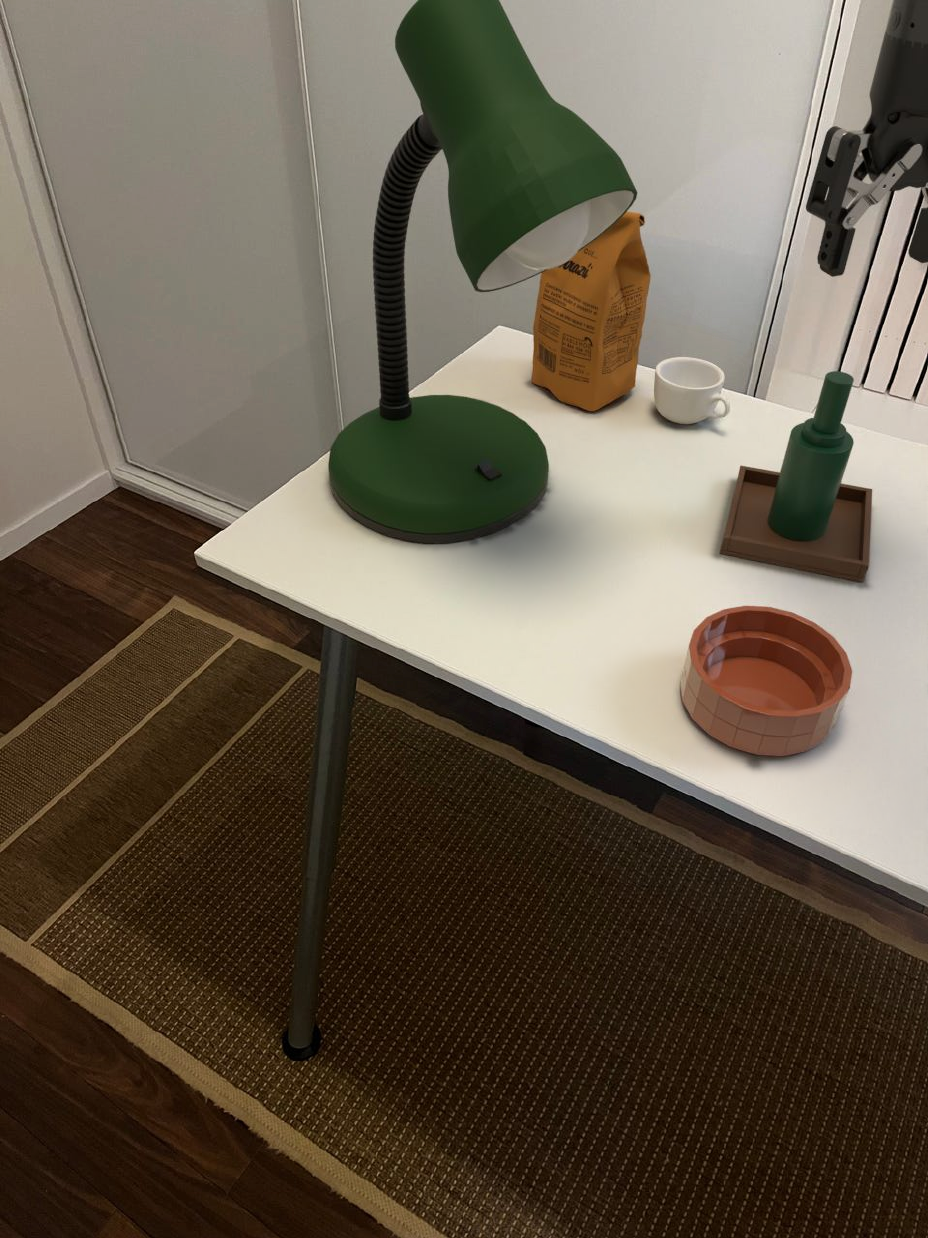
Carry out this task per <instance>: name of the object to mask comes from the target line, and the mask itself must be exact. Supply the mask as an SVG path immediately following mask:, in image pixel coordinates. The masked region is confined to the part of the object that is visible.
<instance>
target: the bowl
mask: <svg viewBox="0 0 928 1238" xmlns="http://www.w3.org/2000/svg"><path fill="white" fill-rule="evenodd" d="M686 652H687V653H686V657H685V661H684V665H683V670H682V675H681V679H680V682H679V683H680V685H679V687H680V693H681V701H682V704H683V705H684V707H685V709H686V710H687V712H688V714H689V715H690V717H691V719H692V720H693V721H694V722H695V723H696V724H697V725H698V726H699V727H700V728H701V729H702V730H704V732H705V733H707V734H708V735H709V736H710V737H712V738H714V739H715V740H717V741H719V742H721V743H723V744H725V745H726V746H728V747H731V748H733V749H736V750H739V751H743V752H745V753H750V754H753V755H758V756H772V757H773V756H774V757H785V756H790V755H794V754H800V753H804V752H805V753H806V752H808V751H809V750H812V749H813V748H815V747H817V746H818V745H820V744H822V743H824V741H826V739H827V738H828V736H829V735H830V734H831V732H832V731H833V729H834V728H835V726H836V725H837V724H836V723H837V721H838V718H839V716H840V714H841V711H842V709H843V706H844V703H845V701H846V698H847V697H848V694H849V691H850V688H851V684H852V676H853V669H852V666H851V662H850V659H849V657H848V654H847V652H846V651H845V649H844V648H843V647H842V645H841V644H840V643H839V641H838V640H837V639H836V637H835V636H833V635H832V634H831V633H830V632H828V631H826V630H825V629H824V628H823V627H821V626H820V625H819V624H817V623H816V622H814V621H812V620H810V619H809V618H805V617H803V616H802V615H800V614H797V613H795V612H792V611H788V610H784V609H780V608H776V607H771V606H763V605H762V606H760V605H741V606H735V607H729V608H723V609H721V610H719V611H717V612H715V613H713V614H711V615H708V616H706V617H705V618H704V619H703V620H702V621H701V622H700V623H699V624H698V625H697V626H696V627H695V628H694V630H693V632H692V634H691V638H690V640H689V643H688V647H687V651H686Z"/></svg>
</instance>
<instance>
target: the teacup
mask: <svg viewBox="0 0 928 1238" xmlns="http://www.w3.org/2000/svg"><path fill="white" fill-rule="evenodd" d="M725 377H726V376H725V372H724V371H723V370H722V368H720V367H719V366H717V365H716V364H714V363H712V362H711V361H708V360H705V359H701V358H697V357H696V358H695V357H690V356H675V357H670V358H666V359H663V360H662V361H660V362H659V363H657V365H656V366H655V371H654V383H653V385H654V386H653V399H654V400H653V401H654V405H655V408H656V409H657V412H658V413H660V415H661V416H663V417H664V418H665V419H666V420H667V421H669V422H672V423H675V424H678V425H679V424H680V425H693V424H696V423H700V422H702V421H704V420H706V419H707V418H711V419H721V418H725V417H726V416H728V414H729V413H730V410H731V404H730V401H729V399H728V398H727V397H726V396H725V395H723V394H722V391H723V386H724V383H725ZM719 401H721V402H722V403H723V404H724V412H723V413H717V412H715V409H716V408H717V406H718V404H719Z"/></svg>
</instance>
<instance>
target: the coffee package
mask: <svg viewBox="0 0 928 1238" xmlns="http://www.w3.org/2000/svg"><path fill="white" fill-rule="evenodd" d="M645 223H646V220H645V215H643V214H642V213H640V212H633V211H627V212H626V213H625V214H624V215H623V216H622V217H621V218H620V219H619V220H618V221H617V222H616V223H615V224H614V225H612V226H611V227H610V228H609V229H608V230H607V231H605V232H604V233H603V234H602V235H600V236H599V237H598V238H597V239H595V240H594V241H593V242H591V243H590V244H589V245H587V246H586V247H584V248H583V249H581V250H580V251H579V252H577V253H576V254H575V256H574V257H573V258H572V259H571V260H569V261H567V262H566V263H564V264H562V265H561V266H559V267H557V268H554V269H548V270H546V271H544V272H542V273H540V279H539V288H538V294H537V299H536V308H535V314H534V320H533V326H532V332H533V335H532V336H533V337H532V338H533V351H532V371H531V372H532V374H531V383H532V384H534V385H537V386H539V387H542V388H545V389H547V390H549V391H550V392H551V394H553V396H554V397H555V398H556V399H557V400H558V401H560V402H562V403H564V404H567V405H570V406H575V407H578V408H581V409H583V410H585V411H587V412H594V411H598V410H600V409H601V408H602V407H604V406H606V405H608V404H610V403H612V402H613V401H616V400H617V399H618V398H620V397H622V396H625V395H627V394H629V393H630V392H631V391H632V390H633V389H634V388H635V387H636V378H637V370H638V365H639V353H640V352H639V350H640V345H641V340H642V337H643V326H644V323H645V317H646V310H647V300H648V296H649V290H650V284H651V278H652V277H651V271H650V266H649V264H648V259H647V256H646V255H647V254H646V250H645V247H644V245H643V240H642V236H641V227H644V226H645Z"/></svg>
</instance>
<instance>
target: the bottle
mask: <svg viewBox="0 0 928 1238" xmlns="http://www.w3.org/2000/svg"><path fill="white" fill-rule="evenodd" d="M854 380H855V379H854V376H852V375H851V374H849V373H848V372H844V371H837V370H833V371H829V372H827V373H826V374H825V376H824V379H823V382H822V387H821V390H820V394H819V397H818V401H817V404H816V408H815V411H814V414H813V417H810V418H807V419H806V420H804V422H802V423H798V424H796V425H794V426H793V428H792V429H791V430H790V433H789V437H788V442H787V445H786V449H785V453H784V456H783V459H782V464H781V468H780V471H779V472H780V474H779V478H778V482H777V486H776V489H775V493H774V497H773V501H772V504H771V508H770V512H769V515H768V524H769V526H770V528H771V529H772V530H773V531H774V532H775V533H777V534H778V535H780V536H782V537H784V538H787V539H790V540H795V541H812V540H816V539H818V538H820V537H821V536H823V534H824V533H825V531H826V528H827V525H828V522H829V518H830V515H831V512H832V509H833V506H834V503H835V500H836V497H837V494H838V491H839V487H840V484H842V481H843V479H844V475H845V472H846V469H847V467H848V462H849V459H850V456H851V454H852V450H853V447H854V444H855V443H854V442H855V441H854V438H853V436H852V434H850V432H848V430H847V428H846V426H845V425H844V423H842V420H843V417H844V413H845V412H846V411H845V410H846V407H847V404H848V400H849V398H850V395H851V391H852V389H853V388H852V387H853V385H854V382H855V381H854Z"/></svg>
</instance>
